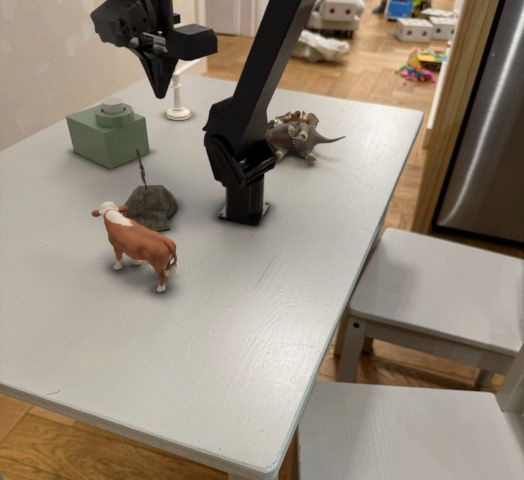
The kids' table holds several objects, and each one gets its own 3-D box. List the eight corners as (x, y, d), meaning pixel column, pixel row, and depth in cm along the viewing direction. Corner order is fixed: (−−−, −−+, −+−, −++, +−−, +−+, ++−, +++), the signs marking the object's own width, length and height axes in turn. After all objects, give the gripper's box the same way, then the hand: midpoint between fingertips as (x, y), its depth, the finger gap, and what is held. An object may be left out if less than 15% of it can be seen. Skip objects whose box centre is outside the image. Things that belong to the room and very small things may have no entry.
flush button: (128, 111, 83) (126, 100, 82) (112, 117, 81) (110, 106, 80) (115, 106, 85) (113, 95, 83) (99, 112, 83) (96, 100, 81)
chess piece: (162, 118, 101) (156, 63, 94) (172, 109, 104) (167, 56, 97) (185, 121, 100) (180, 67, 93) (194, 113, 103) (191, 59, 96)
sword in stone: (130, 197, 79) (117, 119, 70) (180, 199, 79) (173, 122, 70) (116, 232, 72) (100, 150, 63) (171, 235, 72) (162, 153, 63)
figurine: (229, 130, 85) (242, 97, 97) (232, 165, 89) (243, 128, 101) (347, 132, 83) (345, 97, 95) (344, 167, 87) (342, 130, 99)
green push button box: (152, 153, 90) (146, 107, 84) (113, 170, 85) (104, 122, 79) (113, 136, 94) (105, 91, 88) (73, 151, 89) (62, 104, 83)
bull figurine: (119, 245, 69) (109, 191, 64) (188, 285, 64) (183, 230, 58) (94, 258, 67) (80, 203, 61) (162, 301, 61) (154, 245, 56)
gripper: (46, -38, 62) (75, 96, 73) (150, -13, 54) (165, 132, 65) (116, -47, 68) (133, 78, 79) (219, -25, 60) (221, 109, 71)
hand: (160, 98), depth 74 cm, fingers closed
